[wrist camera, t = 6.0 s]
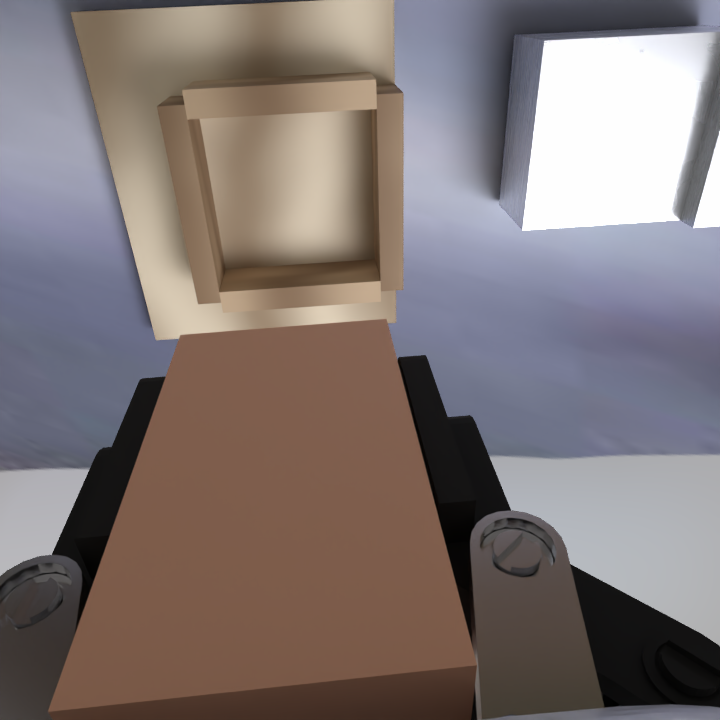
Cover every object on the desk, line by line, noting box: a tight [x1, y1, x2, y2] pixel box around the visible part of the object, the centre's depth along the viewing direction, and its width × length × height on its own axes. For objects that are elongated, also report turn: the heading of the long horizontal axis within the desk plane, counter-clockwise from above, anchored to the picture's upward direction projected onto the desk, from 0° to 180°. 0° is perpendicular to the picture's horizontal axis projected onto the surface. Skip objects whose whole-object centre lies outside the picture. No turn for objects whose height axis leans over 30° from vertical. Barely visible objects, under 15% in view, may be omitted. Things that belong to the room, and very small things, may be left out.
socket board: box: [70, 0, 403, 340], centre depth 25 cm, size 12×14×4 cm
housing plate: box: [499, 25, 720, 230], centre depth 24 cm, size 8×7×4 cm
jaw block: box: [48, 319, 477, 720], centre depth 9 cm, size 4×4×7 cm
